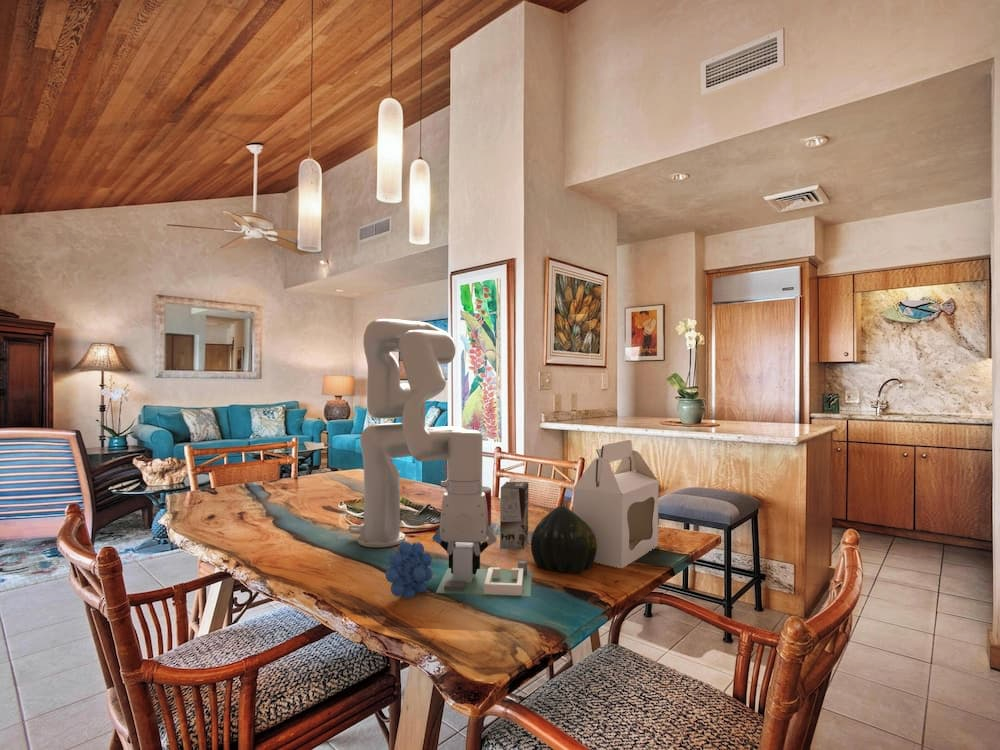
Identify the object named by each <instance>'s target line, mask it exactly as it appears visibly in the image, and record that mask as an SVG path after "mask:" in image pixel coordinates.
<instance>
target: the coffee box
mask: <svg viewBox="0 0 1000 750" xmlns="http://www.w3.org/2000/svg"><path fill="white" fill-rule="evenodd" d="M529 485H530V484H529V482H528V481H506V482H505V483H504V484H503V485H502V486H501V487H500V508H499V509H500V510H499V511H500V514H499V515H500V516H499V517H500V518H499V522H500V525H499V526H500V527H499V529H500V530H499V549H501V550H502V549H503V550H524V549H525V547H526V546H527V544H528V543H529V542H528V541H529Z"/></svg>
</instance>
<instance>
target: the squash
mask: <svg viewBox="0 0 1000 750" xmlns="http://www.w3.org/2000/svg"><path fill="white" fill-rule="evenodd" d="M531 536H532V537H531V539H530V551H531V554H532V558H533V561H534V563H535V564H536V566H537V567H538V568H542V569H547V570H548V571H550V572H556V571H559V572H565V571H566V572H568V573H570V574H574V575H578V574H582V572H583V571H584V570H589V569H590V568H591V567H592V566H593V564H594V563H595V562H594V559H595V556H596V550H597V543H596V538H595V535H594V533H593V531H592V530H591V528H590V527H589V526H588V525H587V524H586V523H585V522H584V521H583V520H582V519H581V518H580V517H578V516H577V515H576V514H575V513H573V511H572V510H571V509H569V507H567V506H565V505H563V504H561V505H560V506H557V507H556V508H554V509H553V510H551V511H550V512H548V513H547V514H546V515H545V516H544V517H543V518H541V520H540V521H539V522H538V523H537V525H536V526H535V528H534V531H533V533H532V535H531Z"/></svg>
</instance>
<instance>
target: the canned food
mask: <svg viewBox="0 0 1000 750" xmlns="http://www.w3.org/2000/svg"><path fill="white" fill-rule="evenodd" d="M482 492H484V493H485V496H486V502H487V510H488V525H489V526H490V527H491V524H492V488H491V487H488V486H483V485H482Z"/></svg>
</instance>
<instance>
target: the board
mask: <svg viewBox="0 0 1000 750" xmlns="http://www.w3.org/2000/svg"><path fill="white" fill-rule="evenodd" d="M517 568H523V587H522V595H501V596H502V597H503V596H506V597H507V596H509V597H531V592H532V591H531V590H532V574H533V573H532V572H533V571H532V570H528V562H527V561H525V560H520V561H518V562H517ZM488 569H489V568H488ZM488 569H486V568H485V569H484V568H480V569H477V572H476V574H474V577H473V580H472V583H471V582H466V581H453V574H451V568H449V567H447V568H446V571H445V573H444V575H443V577H442V578H441V581H440V583H439V585H438V587H437V588H436V591H435V594H452V595H453V594H455V595H475V596H476V595H480V596H482V595H483V596H496V595H495V594H484V583H485V579H486V576H487V572H488ZM492 582H495V583H517V579H511V569H501V577H500V579H497V578H493V580H492Z"/></svg>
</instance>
